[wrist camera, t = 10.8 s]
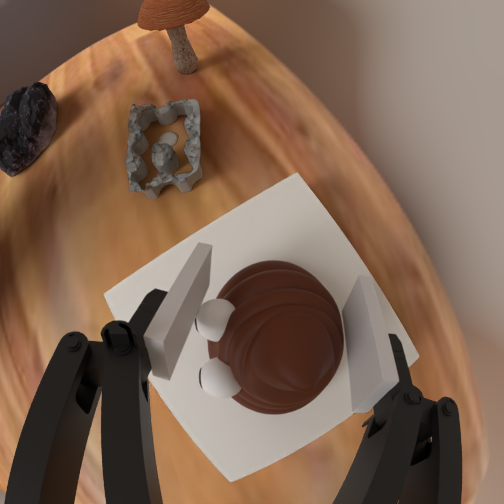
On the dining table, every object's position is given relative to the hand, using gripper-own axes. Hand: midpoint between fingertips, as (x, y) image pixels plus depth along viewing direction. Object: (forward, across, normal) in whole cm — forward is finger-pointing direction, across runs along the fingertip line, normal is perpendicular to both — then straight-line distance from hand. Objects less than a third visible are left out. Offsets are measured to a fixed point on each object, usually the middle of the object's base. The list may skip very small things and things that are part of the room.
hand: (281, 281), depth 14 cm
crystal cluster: (+16, -38, +3) cm, 42 cm away
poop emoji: (+1, 0, -5) cm, 5 cm away
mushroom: (+24, -16, +11) cm, 31 cm away
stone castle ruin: (+15, -13, +2) cm, 20 cm away
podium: (+4, 0, -8) cm, 9 cm away
